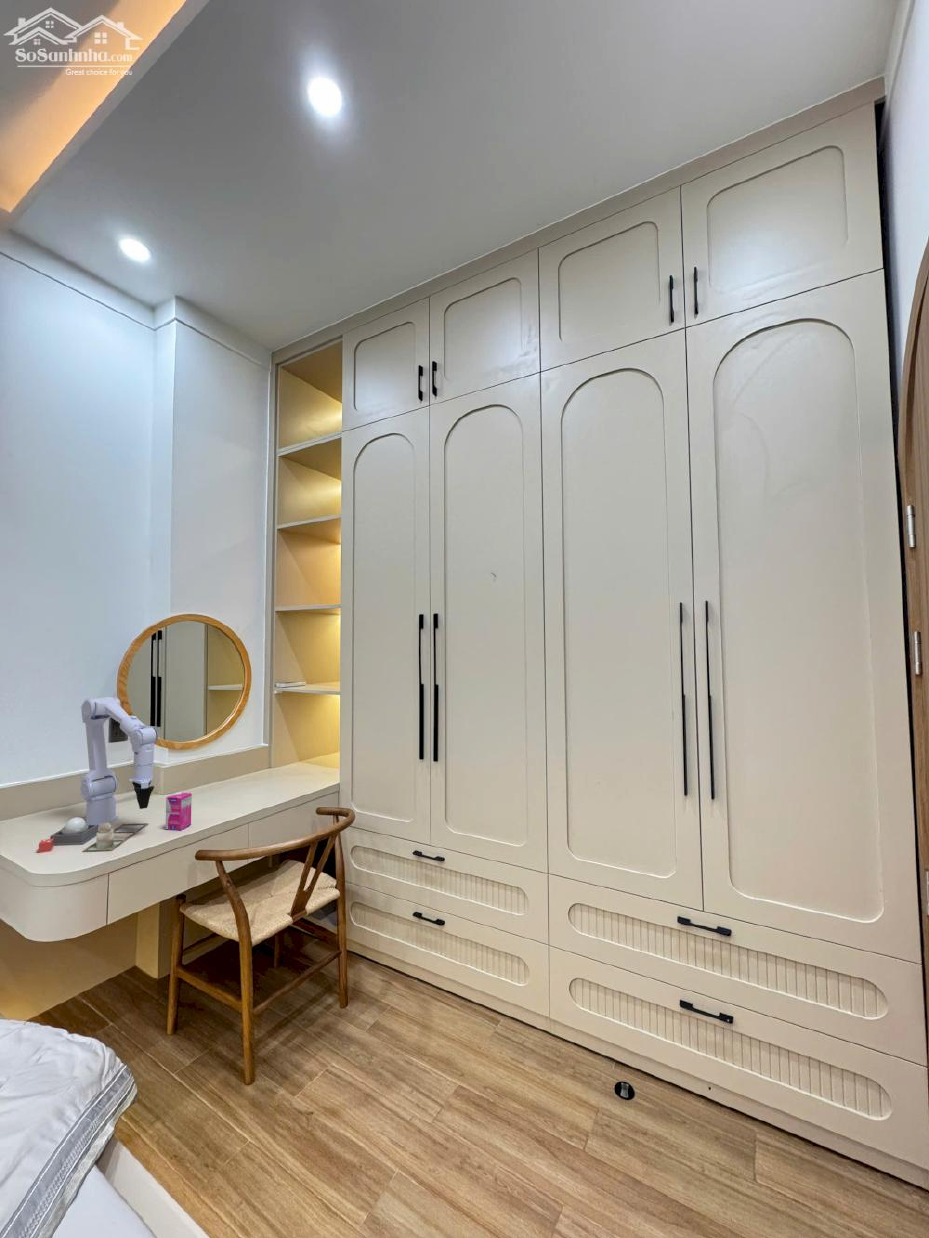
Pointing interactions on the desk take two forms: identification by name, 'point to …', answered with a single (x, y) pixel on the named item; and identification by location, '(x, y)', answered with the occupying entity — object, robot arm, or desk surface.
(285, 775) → the desk surface
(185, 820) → the supplement box
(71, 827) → the dome
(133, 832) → the compartment tray
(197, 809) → the desk surface
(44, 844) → the red die
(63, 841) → the popper base
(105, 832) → the pawn
